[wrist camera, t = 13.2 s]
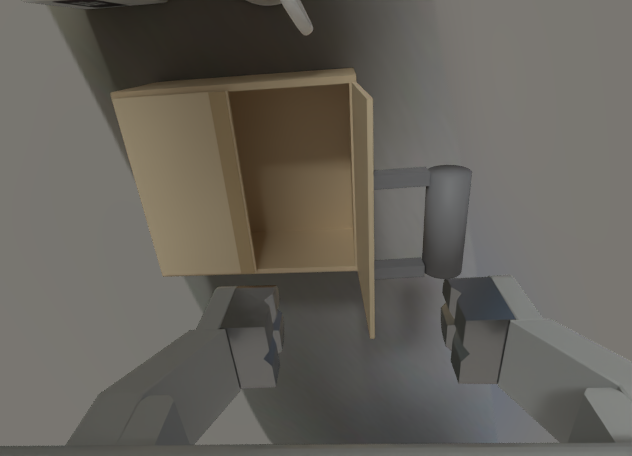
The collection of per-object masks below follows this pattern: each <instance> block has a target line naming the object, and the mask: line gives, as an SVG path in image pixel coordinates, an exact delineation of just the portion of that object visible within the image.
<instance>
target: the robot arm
mask: <svg viewBox="0 0 632 456" xmlns="http://www.w3.org/2000/svg"><path fill="white" fill-rule="evenodd" d="M442 293H443V296H444V299H445V301H446V303H445V304H444V305H443V306H442V307H441V330H442V335H443V339H444V342H445V345H446V347H447V348H449V349H450V350H451V351H452V352H451V363H452V366H453V369H454V372H455V374H456V377H457V380H458V383H459V384H498V386H499V387H500V388H501V389H502V390H503V391H504V392H505V393H506V394H507V395H509V396H510V397H511V398H512V399H513V400H514V401H515V402H516V403H517V404H518V405H519V406H521V407H522V408H523V409H524V410H525V411H526V412H527V413H528V414H529V415H530V416H532V417H533V418H534V419H535V420H536V421H537V422H538V423H539V424H540V425H541V426H542V427H544V428H545V429H546V430H547V431H548V432H549V433H550V434H551V435H552V436H553V437H555V439H557V440H558V441H559V442H560V443H425V444H267V445H266V444H262V445H261V444H259V445H194V444H195V443H196V442H197V441H198V440H199V438H200V437H201V436H202V435H203V434H204V433H205V431H206V430H207V429H208V428H209V427H210V426H211V424H212V423H213V422H214V421H215V420H216V419H217V417H218V416H219V415H220V414H221V413H222V412H223V410H224V409H225V408H226V407H227V406H228V404H229V403H230V402H231V401H232V400H233V399H234V397H235V396H236V395H237V394H238V393H239V392H240V389H243V388H265V387H276V383H277V378H278V372H279V367H280V362H279V356H278V354H279V353H280V352H281V351H282V349H283V343H284V321H283V314H282V312H281V311H280V310H279V309H278V307H279V302H280V296H279V291H278V287H277V286H276V285H265V286H238V287H237V286H225V287H218V288H216V289H215V290H214V292H213V294H212V297H211V299H210V301H209V303H208V305H207V307H206V309H205V311H204V314H203V316H202V318H201V320H200V322H199V324H198V326H197V328H196V330H189V331H188V332H187V333H185V334H184V335H182V336H181V337H179V338H178V339H177V340H175V341H174V342H172V343H171V344H170V345H168V346H167V347H165V348H164V349H162V350H161V351H160V352H158V353H157V354H155V355H154V356H152V357H151V358H150V359H148V360H147V361H145V362H144V363H143V364H141V365H140V366H138V367H137V368H135V369H134V370H133V371H131V372H130V373H128V374H127V375H125V376H124V377H123V378H121V379H120V380H118V381H117V382H116V383H114V384H113V385H111V386H110V387H108V388H107V389H106V390H104V391H103V392H101V393H100V394H99V395H98V396H97V398H96V399H95V401H94V402H93V404H92V405H91V407H90V408H89V410H88V411H87V413H86V415H85V416H84V418H83V419H82V421H81V422H80V424H79V425H78V427H77V428H76V430H75V431H74V433H73V434H72V436H71V437H70V439H69V440H68V442H67V444H66V445H65V446H0V456H632V362H631V361H629V360H627V359H626V358H624V357H622V356H620V355H617V354H616V353H614V352H612V351H610V350H609V349H606V348H605V347H603V346H601V345H599V344H597V343H595V342H593V341H592V340H590V339H588V338H586V337H584V336H582V335H580V334H578V333H576V332H574V331H572V330H570V329H569V328H567V327H565V326H563V325H561V324H559V323H557V322H556V321H554V320H552V319H543V318H542V316H541V315H540V313H539V312H538V311H537V309H536V308H535V307H534V305H533V304H532V302H531V301H530V299H529V298H528V297H527V295H526V294H525V292H524V291H523V290H522V288H521V287H520V286H519V284H518V283H517V281H516V280H515V278H514V277H513V276H511V275H497V276H488V277H473V278H453V279H445V280H444V283H443V292H442Z"/></svg>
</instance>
